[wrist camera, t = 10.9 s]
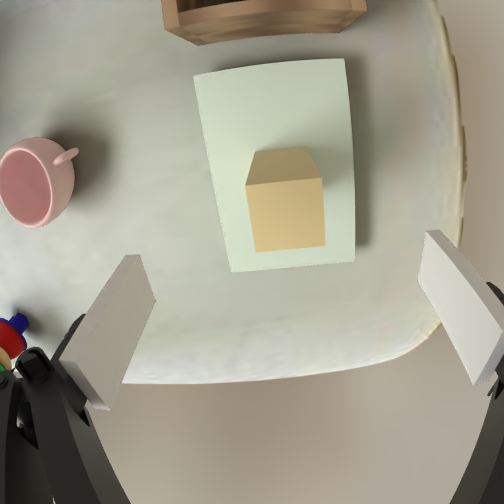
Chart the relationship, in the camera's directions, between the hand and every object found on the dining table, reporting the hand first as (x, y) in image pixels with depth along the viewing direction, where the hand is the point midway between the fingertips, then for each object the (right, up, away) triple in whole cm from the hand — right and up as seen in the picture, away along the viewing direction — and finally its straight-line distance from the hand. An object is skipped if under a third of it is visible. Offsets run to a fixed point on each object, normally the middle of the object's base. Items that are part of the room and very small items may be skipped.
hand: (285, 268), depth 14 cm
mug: (-24, +11, +17) cm, 31 cm away
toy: (-44, -13, +32) cm, 56 cm away
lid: (+2, +9, +16) cm, 19 cm away
